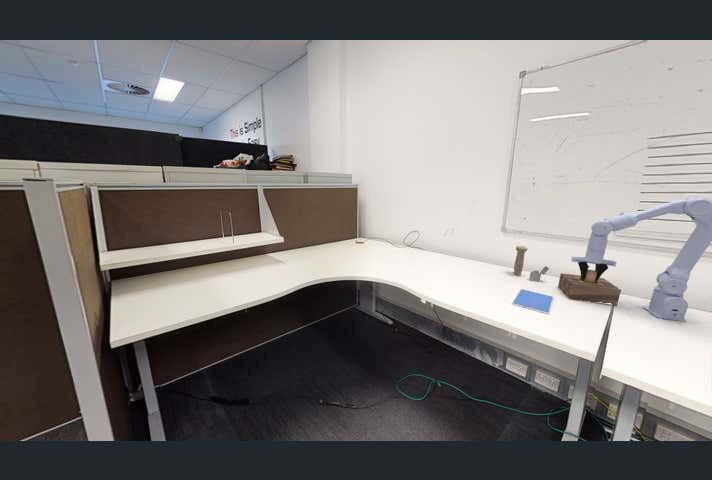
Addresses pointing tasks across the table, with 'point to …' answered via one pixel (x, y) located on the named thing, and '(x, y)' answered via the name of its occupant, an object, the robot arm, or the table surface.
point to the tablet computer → (534, 301)
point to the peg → (590, 276)
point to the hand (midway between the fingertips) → (588, 279)
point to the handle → (519, 259)
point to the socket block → (588, 289)
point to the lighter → (538, 274)
